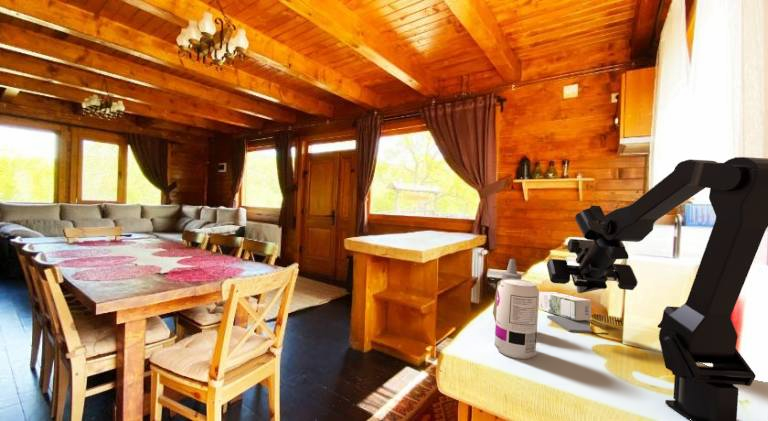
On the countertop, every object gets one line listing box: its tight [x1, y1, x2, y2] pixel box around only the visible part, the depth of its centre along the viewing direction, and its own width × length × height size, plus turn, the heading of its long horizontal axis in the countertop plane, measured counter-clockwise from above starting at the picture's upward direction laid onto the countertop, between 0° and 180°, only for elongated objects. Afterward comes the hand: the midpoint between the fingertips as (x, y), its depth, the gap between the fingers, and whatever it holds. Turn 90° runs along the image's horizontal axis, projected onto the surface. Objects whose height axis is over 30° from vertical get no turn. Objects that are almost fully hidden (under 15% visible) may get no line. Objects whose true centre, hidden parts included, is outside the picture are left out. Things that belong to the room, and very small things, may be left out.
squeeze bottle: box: [492, 258, 522, 324], centre depth 82 cm, size 8×8×18 cm
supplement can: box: [494, 278, 540, 360], centre depth 69 cm, size 8×8×15 cm
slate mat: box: [546, 315, 593, 334], centre depth 88 cm, size 11×10×1 cm
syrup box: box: [538, 291, 592, 321], centre depth 97 cm, size 6×6×14 cm
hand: (578, 291), depth 85 cm, fingers closed
